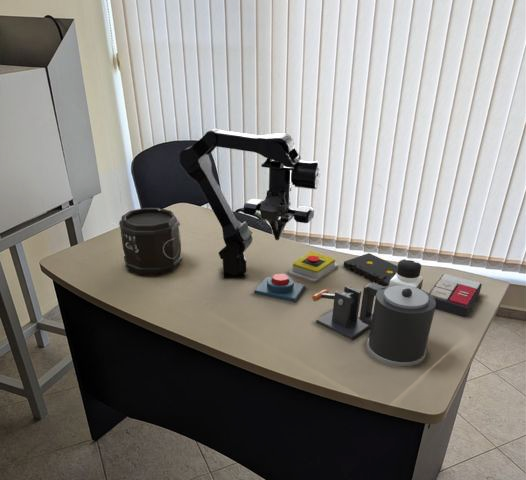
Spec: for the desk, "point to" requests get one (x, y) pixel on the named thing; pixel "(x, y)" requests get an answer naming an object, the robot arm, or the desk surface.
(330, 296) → the switch lever
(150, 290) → the desk surface
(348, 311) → the switch base
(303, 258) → the emergency button
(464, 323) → the desk surface
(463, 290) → the grey red panel box
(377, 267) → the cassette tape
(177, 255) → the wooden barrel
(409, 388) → the desk surface
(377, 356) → the kettle
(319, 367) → the desk surface
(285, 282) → the power button
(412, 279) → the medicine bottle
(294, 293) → the blue button base
